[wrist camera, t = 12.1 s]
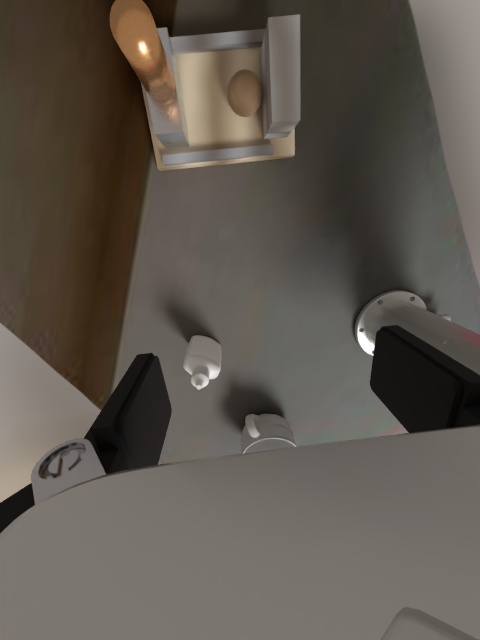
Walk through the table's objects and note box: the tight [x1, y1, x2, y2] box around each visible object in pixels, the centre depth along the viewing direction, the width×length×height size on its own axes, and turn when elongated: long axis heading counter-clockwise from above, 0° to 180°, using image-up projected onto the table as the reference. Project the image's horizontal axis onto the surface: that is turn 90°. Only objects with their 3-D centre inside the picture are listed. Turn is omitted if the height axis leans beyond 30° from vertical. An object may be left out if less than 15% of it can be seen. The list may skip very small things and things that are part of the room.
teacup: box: [241, 414, 298, 454], centre depth 48 cm, size 14×11×8 cm
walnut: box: [227, 69, 262, 117], centre depth 28 cm, size 4×4×4 cm
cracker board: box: [141, 15, 300, 171], centre depth 28 cm, size 18×12×8 cm, turn 96°
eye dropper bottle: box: [183, 335, 221, 389], centre depth 38 cm, size 4×6×12 cm
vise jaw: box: [110, 0, 190, 149], centre depth 23 cm, size 3×8×14 cm, turn 6°
